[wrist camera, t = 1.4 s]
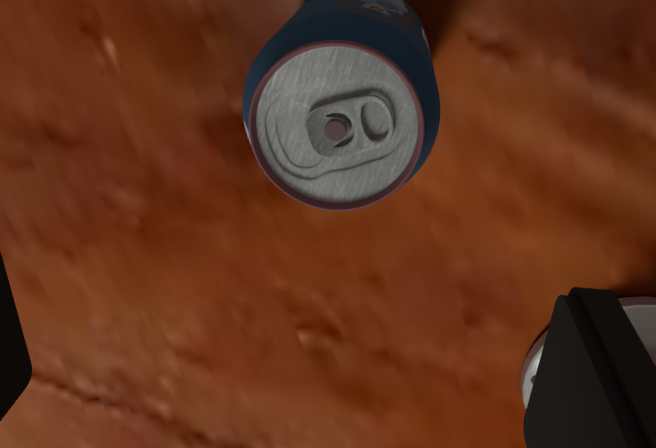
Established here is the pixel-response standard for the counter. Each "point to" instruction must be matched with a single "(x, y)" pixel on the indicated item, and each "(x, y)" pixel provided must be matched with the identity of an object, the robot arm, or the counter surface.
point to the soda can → (343, 102)
